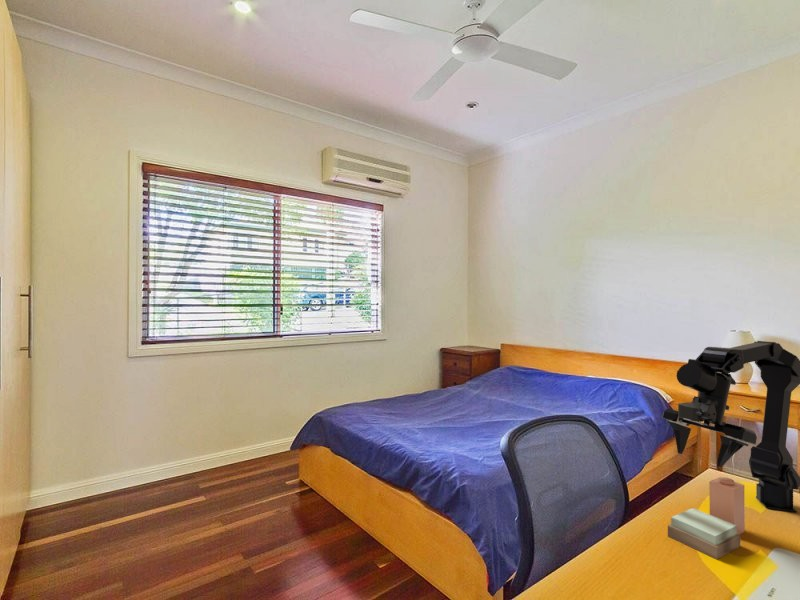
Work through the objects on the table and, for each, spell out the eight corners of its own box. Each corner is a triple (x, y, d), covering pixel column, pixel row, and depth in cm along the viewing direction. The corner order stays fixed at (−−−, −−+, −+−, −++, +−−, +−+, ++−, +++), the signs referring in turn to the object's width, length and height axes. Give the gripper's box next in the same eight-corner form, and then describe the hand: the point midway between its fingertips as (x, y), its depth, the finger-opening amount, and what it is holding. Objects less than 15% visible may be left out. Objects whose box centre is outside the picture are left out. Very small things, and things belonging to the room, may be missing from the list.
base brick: (691, 525, 102) (691, 506, 102) (740, 546, 93) (740, 525, 93) (667, 536, 97) (667, 516, 97) (716, 559, 88) (716, 537, 88)
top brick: (720, 521, 104) (720, 473, 104) (744, 531, 99) (744, 481, 99) (709, 527, 101) (709, 477, 101) (734, 537, 97) (733, 485, 97)
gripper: (655, 381, 109) (640, 440, 107) (734, 396, 92) (719, 467, 90) (683, 392, 113) (669, 450, 111) (764, 409, 96) (750, 477, 94)
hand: (698, 460), depth 101 cm, fingers open, 9 cm apart
